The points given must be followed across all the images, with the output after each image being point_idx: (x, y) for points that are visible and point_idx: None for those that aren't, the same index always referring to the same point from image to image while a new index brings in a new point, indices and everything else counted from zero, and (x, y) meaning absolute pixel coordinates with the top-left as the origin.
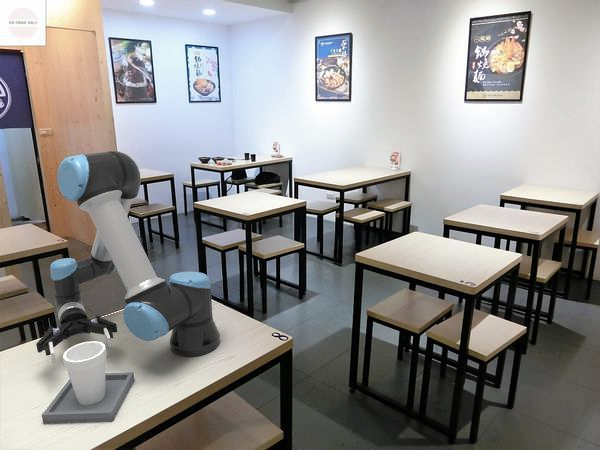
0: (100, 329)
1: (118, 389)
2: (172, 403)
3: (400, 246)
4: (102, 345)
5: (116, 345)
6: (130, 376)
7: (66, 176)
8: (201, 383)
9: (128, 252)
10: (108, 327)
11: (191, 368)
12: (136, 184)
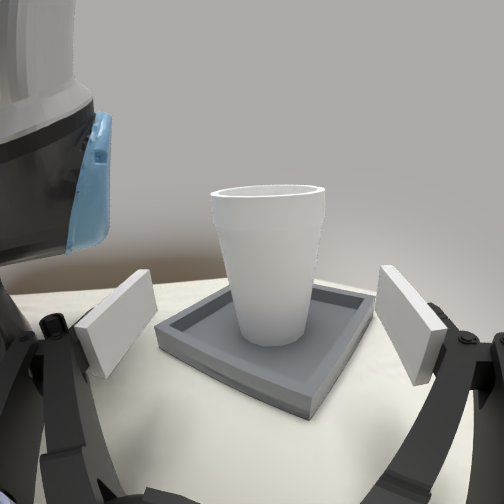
0: (81, 380)
1: (210, 323)
2: (162, 284)
3: None
4: (217, 193)
5: None
6: (170, 319)
7: None
8: (101, 293)
9: None
10: (64, 327)
11: (69, 319)
12: None
